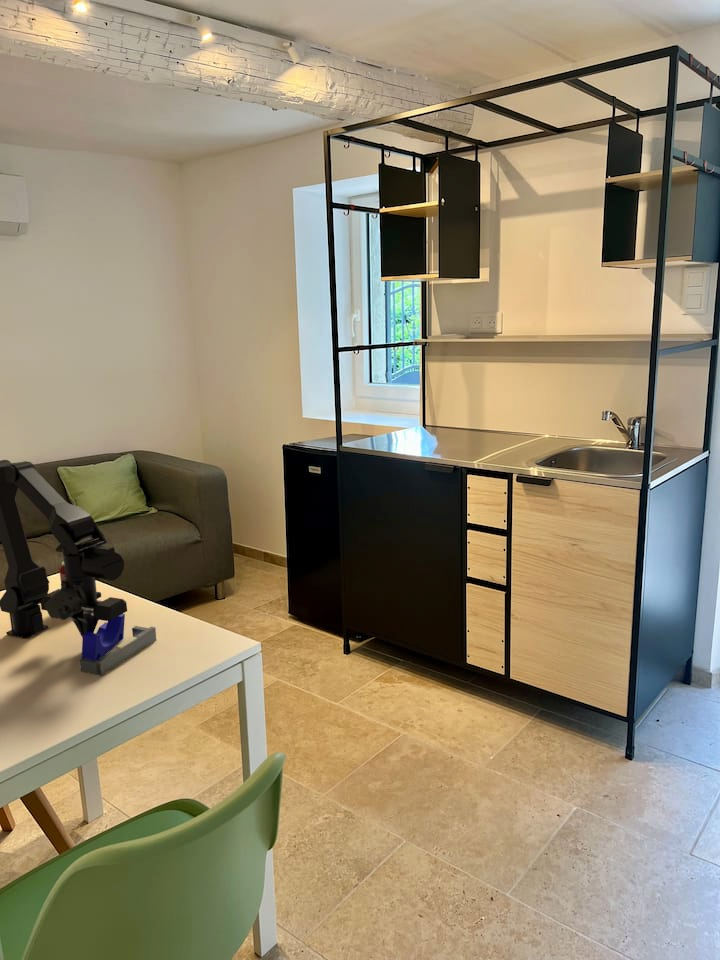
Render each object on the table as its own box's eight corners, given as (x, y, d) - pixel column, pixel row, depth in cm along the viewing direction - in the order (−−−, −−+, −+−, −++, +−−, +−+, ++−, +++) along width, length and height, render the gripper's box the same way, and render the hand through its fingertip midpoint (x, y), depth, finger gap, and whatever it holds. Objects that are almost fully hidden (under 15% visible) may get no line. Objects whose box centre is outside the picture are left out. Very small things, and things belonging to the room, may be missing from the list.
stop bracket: (80, 671, 147) (78, 656, 147) (136, 636, 163) (135, 622, 162) (101, 675, 145) (100, 660, 144) (156, 640, 161) (155, 626, 160)
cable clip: (104, 634, 163) (105, 609, 161) (123, 638, 162) (124, 614, 160) (74, 659, 151) (75, 633, 150) (94, 664, 150) (96, 637, 149)
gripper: (15, 580, 150) (25, 650, 153) (87, 591, 142) (95, 665, 146) (56, 563, 160) (64, 629, 163) (125, 573, 152) (132, 642, 156)
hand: (87, 641), depth 157 cm, fingers closed
